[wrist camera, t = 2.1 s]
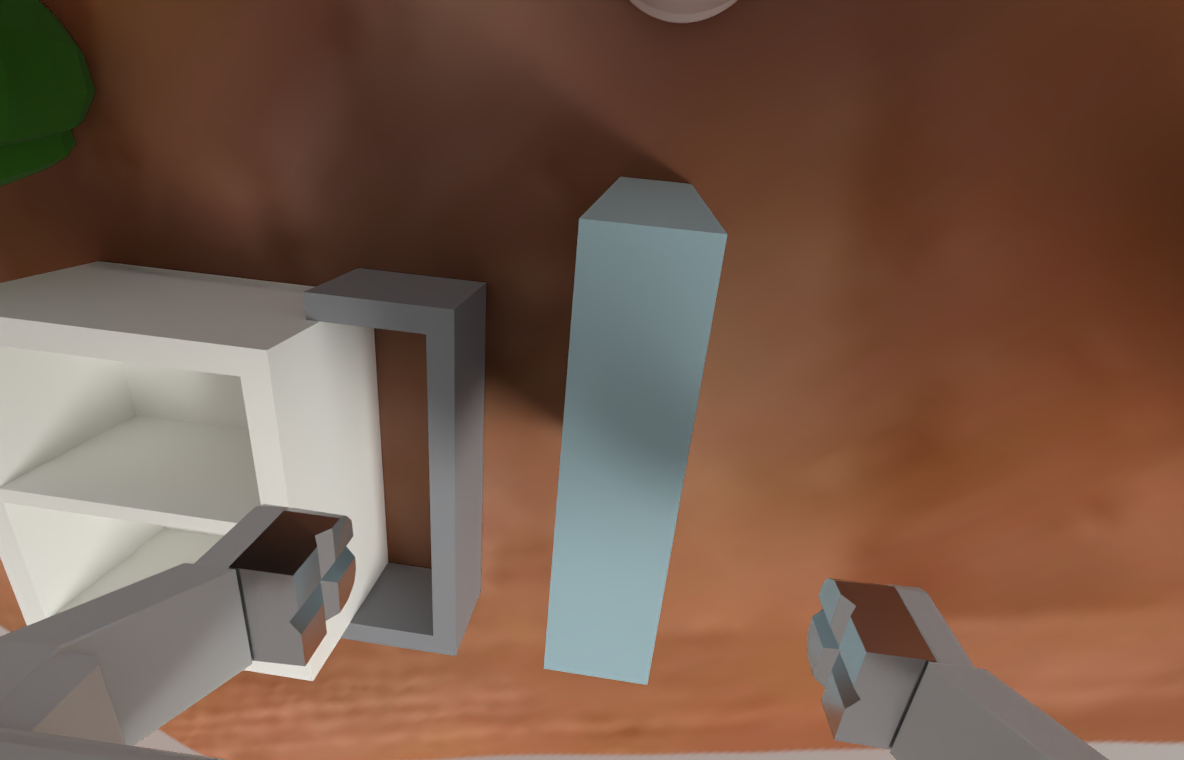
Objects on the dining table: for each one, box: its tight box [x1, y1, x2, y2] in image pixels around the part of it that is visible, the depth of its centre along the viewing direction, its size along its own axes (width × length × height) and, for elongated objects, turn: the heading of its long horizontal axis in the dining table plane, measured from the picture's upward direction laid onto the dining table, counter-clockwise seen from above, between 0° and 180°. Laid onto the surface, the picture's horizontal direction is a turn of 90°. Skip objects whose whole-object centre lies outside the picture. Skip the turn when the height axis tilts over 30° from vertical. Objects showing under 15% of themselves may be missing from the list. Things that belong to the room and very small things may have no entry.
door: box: [544, 177, 728, 685], centre depth 18 cm, size 3×11×12 cm, turn 175°
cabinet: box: [0, 261, 486, 681], centre depth 24 cm, size 17×16×7 cm
